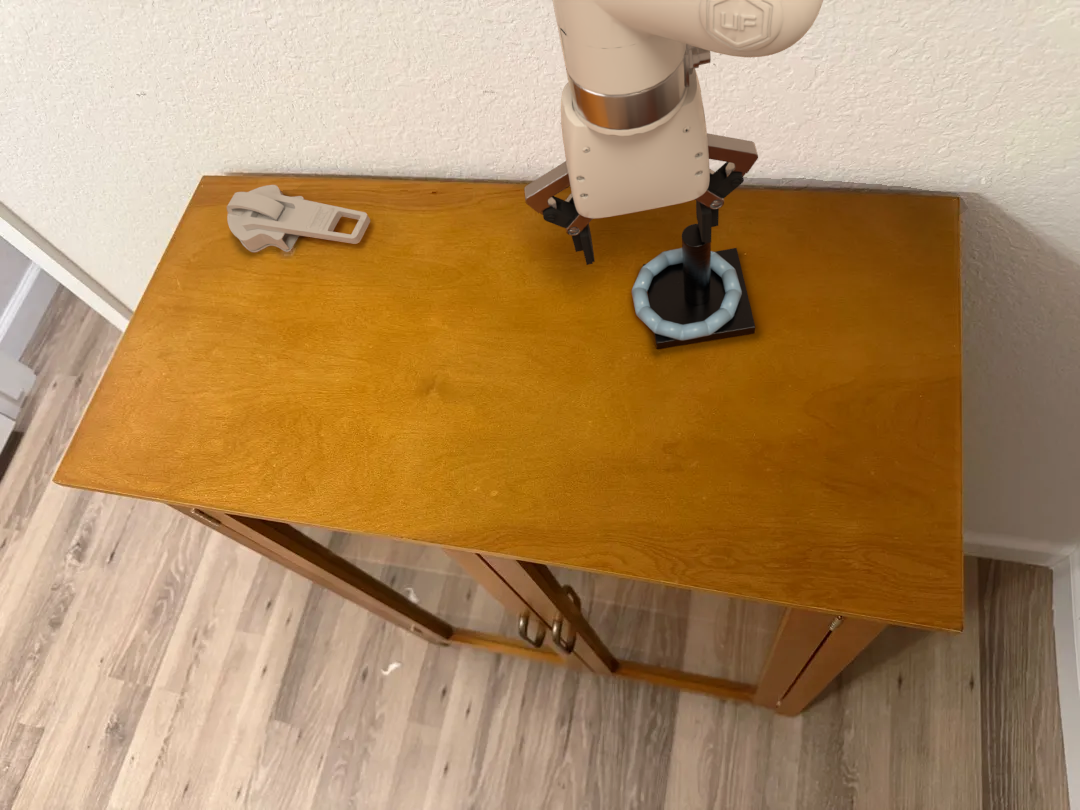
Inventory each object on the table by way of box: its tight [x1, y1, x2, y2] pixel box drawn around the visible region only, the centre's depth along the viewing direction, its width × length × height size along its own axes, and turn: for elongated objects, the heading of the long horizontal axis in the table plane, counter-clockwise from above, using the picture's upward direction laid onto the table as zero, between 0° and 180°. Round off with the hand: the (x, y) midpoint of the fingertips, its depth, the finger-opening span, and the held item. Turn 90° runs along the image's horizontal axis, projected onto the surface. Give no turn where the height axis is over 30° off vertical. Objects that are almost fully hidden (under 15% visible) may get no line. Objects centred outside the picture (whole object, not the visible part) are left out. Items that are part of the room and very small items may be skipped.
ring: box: [631, 247, 742, 340], centre depth 72 cm, size 10×10×1 cm
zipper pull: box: [226, 184, 371, 253], centre depth 85 cm, size 8×18×4 cm, turn 70°
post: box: [642, 223, 756, 350], centre depth 69 cm, size 9×9×10 cm
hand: (645, 240), depth 64 cm, fingers open, 9 cm apart
